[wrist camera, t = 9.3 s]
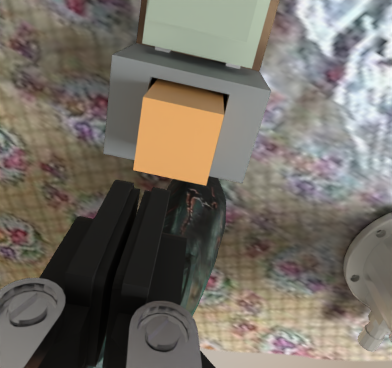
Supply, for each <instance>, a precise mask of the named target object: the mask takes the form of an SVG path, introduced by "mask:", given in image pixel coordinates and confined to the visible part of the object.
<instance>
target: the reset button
mask: <svg viewBox="0 0 392 368" xmlns="http://www.w3.org/2000/svg"><path fill="white" fill-rule="evenodd" d="M223 118H224V102H223V93H221V92H216V91H212V90H207V89H203V88H198V87H194V86H190V85H185V84H181V83H176V82H172V81H168V80H163V79H159V78H158V79H157V80H156V82H155V83H154V84H153V85H152V87H151V88H150V89H149V90H148V92H147V93H146V94H145V95H144V97H143V102H142V109H141V117H140V124H139V131H138V139H137V146H136V153H135V160H134V168H133V170H135V171H139V172H144V173H149V174H154V175H158V176H163V177H168V178H172V179H177V180H182V181H186V182H191V183H196V184H201V185H205V186H206V184H207V181H208V177H209V173H210V169H211V165H212V161H213V157H214V153H215V149H216V145H217V141H218V137H219V133H220V130H221V126H222V122H223Z"/></svg>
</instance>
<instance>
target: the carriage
mask: <svg viewBox="0 0 392 368" xmlns="http://www.w3.org/2000/svg"><path fill="white" fill-rule="evenodd" d="M270 1H271V0H148V1H147V9H146V17H145V25H144V33H143V40H142V43H143V44H147V45H152V46H156V47H160V48H165V49H169V50H173V51H178V52H182V53H186V54H191V55H195V56H199V57H204V58H208V59H212V60H217V61H221V62H225V63H230V64H234V65H238V66H243V67H247V68H251V69H252V66H253V62H254V59H255V55H256V51H257V48H258V44H259V40H260V37H261V33H262V30H263V26H264V22H265V19H266V15H267V11H268V8H269V4H270Z"/></svg>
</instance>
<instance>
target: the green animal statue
mask: <svg viewBox="0 0 392 368" xmlns="http://www.w3.org/2000/svg"><path fill="white" fill-rule="evenodd" d="M167 190H170V196H169V201H168V206H167V211H166V216H165V221H164V226H163V231H162V232H163V233H168V234H173V235H178V236H184V237H187V245H186V255H185V264H184V273H183V283H182V292H181V302H180V306H182V307H183V308H184V309H185V310H187V311H188V312H189V313H190V314H191V316H193V314H194V312H195V310H196V308H197V306H198V304H199V301H200V299H201V297H202V295H203V292H204V290H205V287H206V285H207V282H208V280H209V277H210V275H211V272H212V269H213V267H214V264H215V261H216V258H217V254H218V249H219V246H220V243H221V240H222V236H223V232H224V228H225V223H226V199H225V196H224V193H223V190H222V187H221V184H220V181H219V179H218V178H215V177H211V176H209V177H208V181H207V184H206V186H205V185H201V184H196V183H191V182H186V181H182V180H177V179H173V181H172V182H171V184H170V185H169V187H168V188H167ZM105 341H106V337H105V340H104V343H103V347H102V350H101V353H100V356H99V359H98V362H97V365H96V367H92V366H88V368H102V365H103V357H104V349H105Z"/></svg>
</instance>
